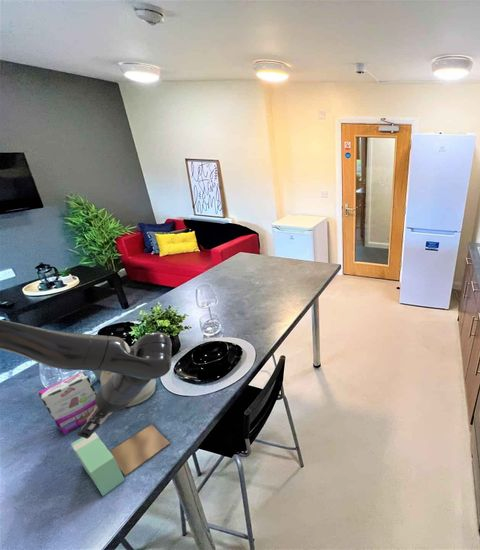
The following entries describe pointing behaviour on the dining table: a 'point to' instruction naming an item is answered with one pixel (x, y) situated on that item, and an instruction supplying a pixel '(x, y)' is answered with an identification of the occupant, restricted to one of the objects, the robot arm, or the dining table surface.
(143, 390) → the jug
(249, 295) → the dining table surface
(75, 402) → the candy bar box
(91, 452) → the green carton
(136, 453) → the cork mat
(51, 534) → the dining table surface
